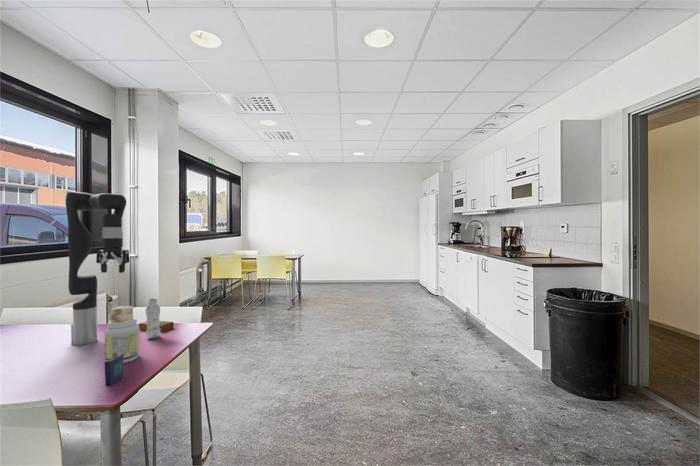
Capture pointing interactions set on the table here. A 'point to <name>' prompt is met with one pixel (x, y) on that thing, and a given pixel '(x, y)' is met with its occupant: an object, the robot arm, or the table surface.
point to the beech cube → (121, 313)
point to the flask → (114, 369)
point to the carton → (163, 326)
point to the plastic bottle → (153, 319)
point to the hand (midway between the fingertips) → (113, 272)
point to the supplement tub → (123, 339)
